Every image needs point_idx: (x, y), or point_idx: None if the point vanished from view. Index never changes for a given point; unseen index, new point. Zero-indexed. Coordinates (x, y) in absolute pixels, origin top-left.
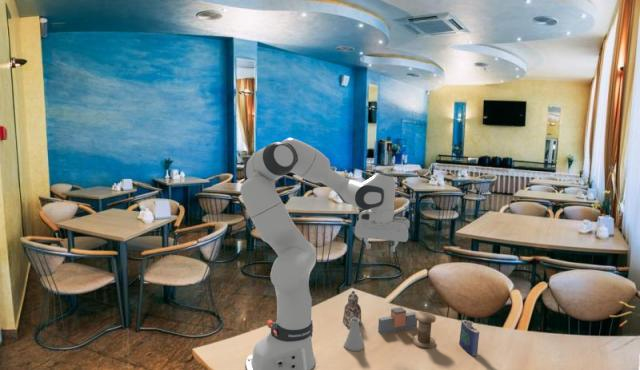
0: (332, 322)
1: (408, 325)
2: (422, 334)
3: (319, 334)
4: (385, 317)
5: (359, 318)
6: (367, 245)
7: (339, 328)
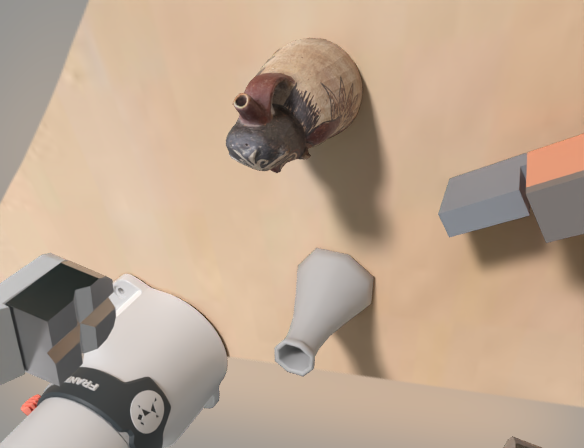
0: (227, 100)
1: None
2: None
3: (199, 202)
4: (481, 205)
5: (343, 126)
6: (28, 357)
7: None
